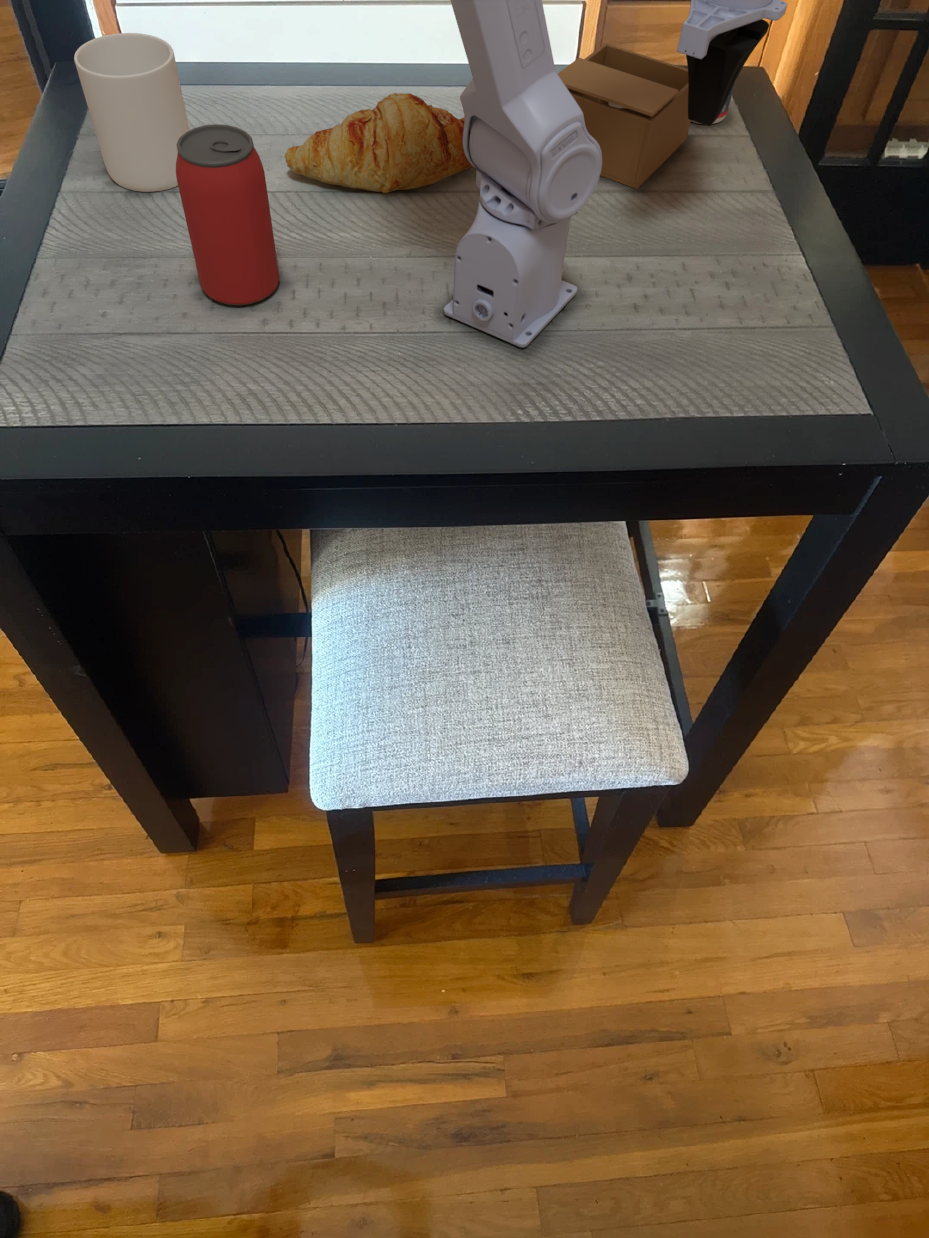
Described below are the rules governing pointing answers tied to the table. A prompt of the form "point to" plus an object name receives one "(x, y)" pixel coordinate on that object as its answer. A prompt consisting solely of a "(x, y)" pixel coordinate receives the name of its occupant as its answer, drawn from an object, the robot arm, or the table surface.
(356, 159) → the croissant
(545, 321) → the robot arm
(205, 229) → the beer can
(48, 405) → the table surface
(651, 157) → the carton
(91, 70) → the cup
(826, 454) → the table surface
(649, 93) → the flap
